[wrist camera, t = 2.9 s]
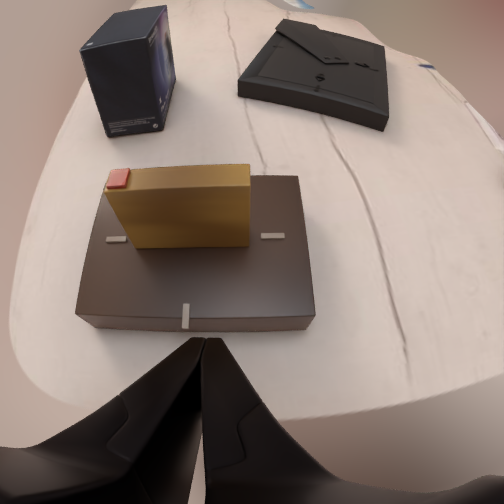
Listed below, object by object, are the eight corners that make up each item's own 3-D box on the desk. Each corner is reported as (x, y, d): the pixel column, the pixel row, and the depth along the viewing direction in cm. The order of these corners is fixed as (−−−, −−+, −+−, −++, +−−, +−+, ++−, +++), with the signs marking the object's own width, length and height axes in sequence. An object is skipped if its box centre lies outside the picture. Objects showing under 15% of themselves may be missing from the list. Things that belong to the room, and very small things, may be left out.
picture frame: (282, 33, 41) (237, 96, 31) (283, 18, 38) (237, 74, 29) (381, 57, 38) (383, 132, 29) (385, 42, 36) (391, 111, 26)
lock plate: (292, 195, 24) (297, 167, 22) (307, 338, 19) (317, 325, 16) (118, 200, 24) (106, 174, 21) (93, 336, 19) (71, 322, 16)
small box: (167, 131, 28) (148, 35, 19) (105, 139, 28) (74, 52, 19) (179, 78, 33) (169, 1, 24) (128, 85, 33) (110, 12, 24)
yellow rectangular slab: (249, 226, 19) (250, 159, 14) (249, 247, 19) (250, 182, 14) (138, 229, 19) (108, 167, 14) (134, 249, 19) (101, 189, 13)
